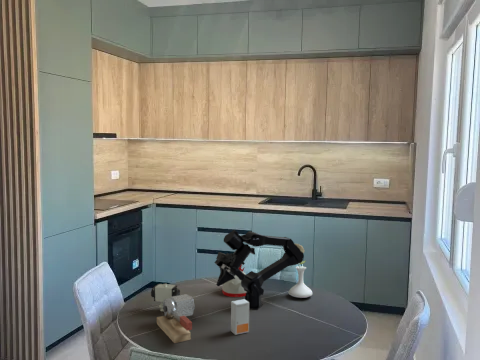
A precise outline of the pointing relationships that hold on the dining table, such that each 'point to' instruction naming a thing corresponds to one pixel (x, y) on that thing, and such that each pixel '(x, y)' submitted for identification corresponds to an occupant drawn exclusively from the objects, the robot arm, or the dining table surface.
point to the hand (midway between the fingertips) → (217, 285)
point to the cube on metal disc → (184, 304)
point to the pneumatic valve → (164, 293)
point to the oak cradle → (173, 329)
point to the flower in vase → (300, 281)
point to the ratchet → (175, 313)
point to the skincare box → (240, 316)
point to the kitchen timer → (234, 287)
